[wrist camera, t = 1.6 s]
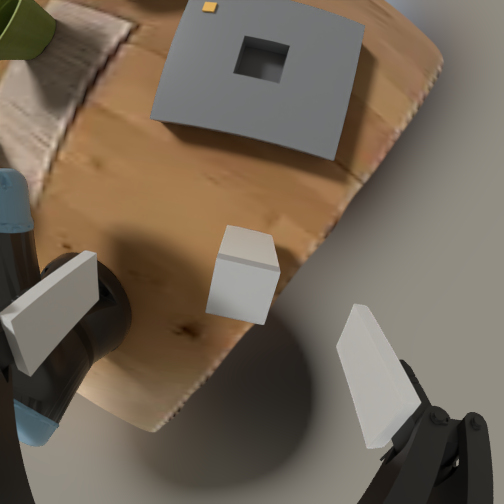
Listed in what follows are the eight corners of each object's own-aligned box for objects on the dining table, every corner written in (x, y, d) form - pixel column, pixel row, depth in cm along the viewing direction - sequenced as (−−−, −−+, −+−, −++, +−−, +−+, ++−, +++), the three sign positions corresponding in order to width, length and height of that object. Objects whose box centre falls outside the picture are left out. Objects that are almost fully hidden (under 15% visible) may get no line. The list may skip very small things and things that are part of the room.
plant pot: (16, 90, 23) (-38, 86, 13) (12, 37, 19) (-33, 26, 9) (74, 41, 22) (22, 18, 11) (67, -9, 18) (25, -35, 7)
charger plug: (259, 264, 32) (263, 324, 21) (220, 255, 32) (205, 312, 21) (270, 227, 31) (280, 272, 19) (229, 217, 30) (216, 257, 19)
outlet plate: (324, 159, 28) (334, 160, 25) (160, 122, 27) (148, 118, 23) (354, 36, 23) (366, 24, 19) (200, 0, 21) (194, -15, 18)
